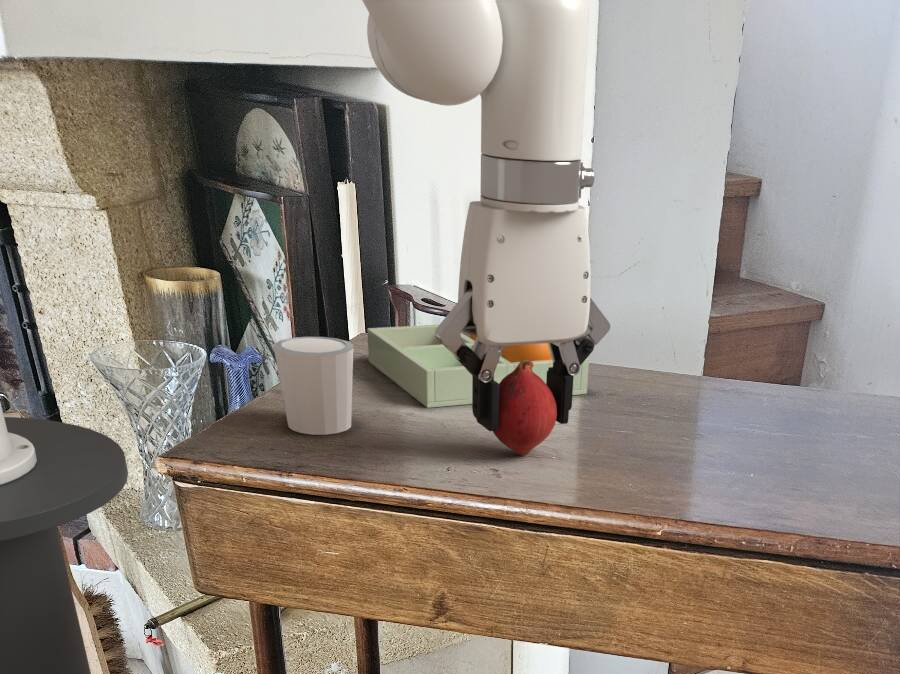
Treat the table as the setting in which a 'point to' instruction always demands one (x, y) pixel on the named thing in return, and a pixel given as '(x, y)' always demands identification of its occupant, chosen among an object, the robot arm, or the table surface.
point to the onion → (524, 410)
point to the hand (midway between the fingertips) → (522, 420)
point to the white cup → (316, 383)
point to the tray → (439, 365)
